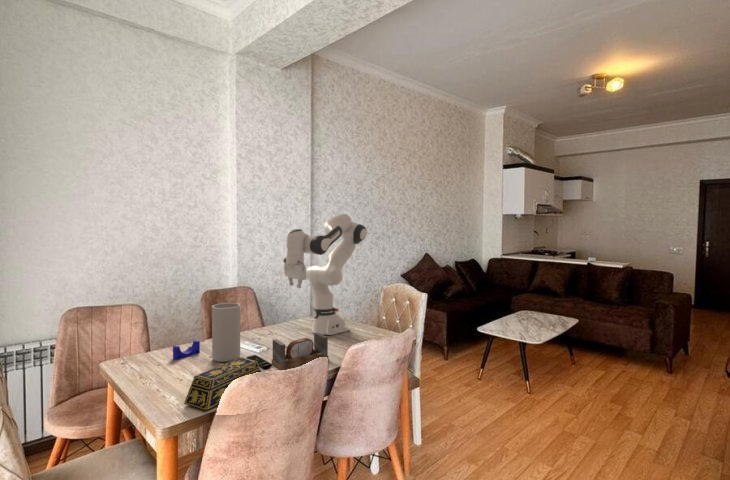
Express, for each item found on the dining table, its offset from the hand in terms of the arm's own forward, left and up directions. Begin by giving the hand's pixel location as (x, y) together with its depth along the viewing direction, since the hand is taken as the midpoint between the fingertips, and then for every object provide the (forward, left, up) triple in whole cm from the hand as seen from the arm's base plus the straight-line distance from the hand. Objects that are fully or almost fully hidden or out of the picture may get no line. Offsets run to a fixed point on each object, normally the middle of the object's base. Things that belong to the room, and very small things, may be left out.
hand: (295, 286), depth 203 cm
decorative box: (+44, +37, -32) cm, 66 cm away
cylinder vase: (+35, 0, -31) cm, 47 cm away
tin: (+8, +24, -29) cm, 39 cm away
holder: (+8, +24, -31) cm, 40 cm away
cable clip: (+50, -15, -32) cm, 61 cm away
